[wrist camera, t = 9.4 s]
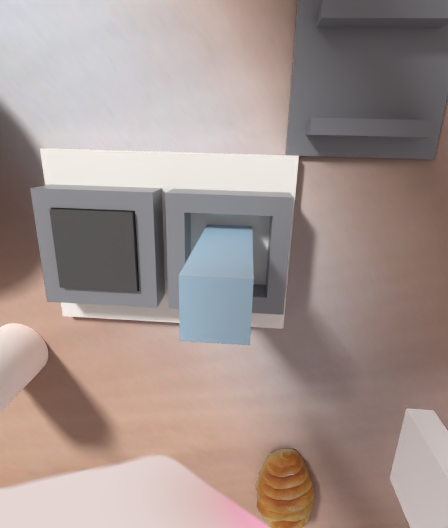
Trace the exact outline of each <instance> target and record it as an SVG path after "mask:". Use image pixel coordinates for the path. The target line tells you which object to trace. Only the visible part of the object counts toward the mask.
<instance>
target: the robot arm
mask: <svg viewBox="0 0 448 528" xmlns="http://www.w3.org/2000/svg"><path fill="white" fill-rule="evenodd" d="M390 481H391V483H392V486H393V488H394V490H395V493H396V495H397V497H398V500H399V502H400V505H401V507H402V509H403V512H404V514H405V517H406V519H407V521H408V524H409V526H410V528H448V431H447V429H446V428H445V426H444V425H443V423H442V422H441V420H440V419H439V418H438V416H437V415H436V413H435V412H434V410H425V409H410V408H406V412H405V416H404V420H403V424H402V428H401V432H400V437H399V441H398V445H397V449H396V453H395V458H394V462H393V466H392V470H391V474H390Z"/></svg>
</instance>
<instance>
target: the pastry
mask: <svg viewBox="0 0 448 528" xmlns="http://www.w3.org/2000/svg"><path fill="white" fill-rule="evenodd" d="M256 490H257V509H258V511H259V512H260V513H261V515H262V517H263V518H264V519H265V520H266V521H267V523H268V525H269V526H270V527H271V528H302V527H303V526H304V525H305V524H306V523H307V522H308V521H309V517H310V514H311V509H312V507H313V504H314V499H315V496H314V486H313V483H312V480H311V478H310V475H309V473H308V470H307V467H306V464H305V462H304V460H303V458H302V456H301V455H300V454H299V453H298V452H297V451H296V450H294V449H280V450H276V451H273V452H271V453H270V455H269V456H268V457H267V458H266V460H265V463H264V466H263V467H262V469H261V470H260V472H259V477H258V480H257V482H256Z"/></svg>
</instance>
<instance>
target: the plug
mask: <svg viewBox="0 0 448 528" xmlns="http://www.w3.org/2000/svg"><path fill="white" fill-rule="evenodd" d="M253 281H254V274H253V236H252V226H235V225H210V224H207V226H206V227H205V229H204V231H203V233H202V234H201V236H200V238H199V240H198V242H197V243H196V245H195V247H194V249H193V251H192V252H191V254H190V256H189V258H188V260H187V261H186V263H185V265H184V267H183V268H182V270H181V272H180V274H179V324H180V341H190V342H206V343H222V344H239V345H250V334H251V317H252V299H253Z"/></svg>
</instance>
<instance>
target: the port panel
mask: <svg viewBox="0 0 448 528" xmlns="http://www.w3.org/2000/svg"><path fill="white" fill-rule="evenodd" d="M40 152H41V159H42V167H43V174H44V181H45V185H44V186H39V187H33V188H30V191H31V198H32V205H33V211H34V218H35V224H36V231H37V238H38V244H39V251H40V258H41V264H42V271H43V278H44V284H45V291H46V298H47V302H61V306H62V313H63V316H70V317H87V318H105V319H122V320H139V321H156V322H174V323H179V274H180V272H181V270H182V268H183V267H184V265H185V263H186V261H187V260H188V258H189V256H190V254H191V252H192V251H193V249H194V247H195V245H196V243H197V242H198V240H199V238H200V236H201V234H202V233H203V231H204V229H205V227H206V226H207V224H210V225H235V226H252V236H253V274H254V281H253V299H252V317H251V327H260V328H277V329H283V326H284V315H285V304H286V293H287V282H288V271H289V260H290V249H291V238H292V227H293V216H294V205H295V194H296V183H297V172H298V161H299V156H292V155H261V154H225V153H190V152H155V151H120V150H84V149H49V148H40Z"/></svg>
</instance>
